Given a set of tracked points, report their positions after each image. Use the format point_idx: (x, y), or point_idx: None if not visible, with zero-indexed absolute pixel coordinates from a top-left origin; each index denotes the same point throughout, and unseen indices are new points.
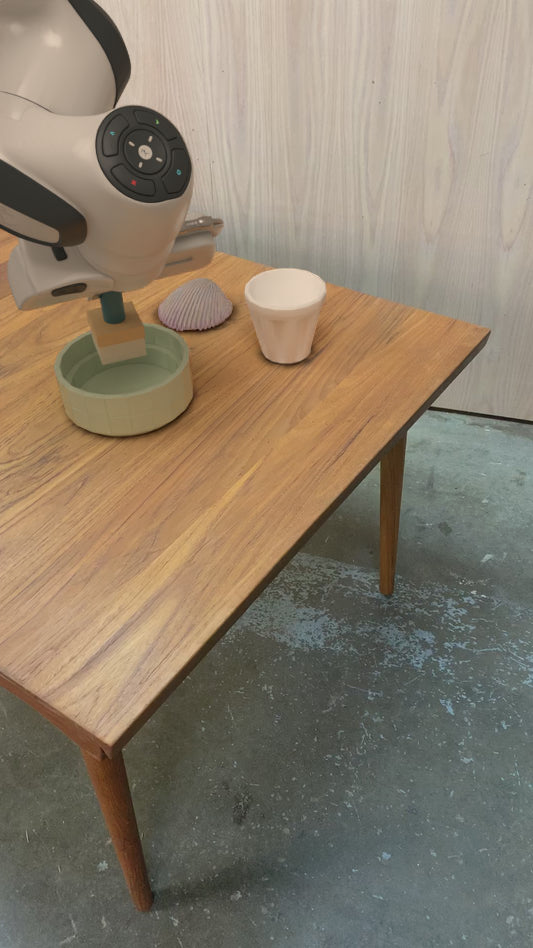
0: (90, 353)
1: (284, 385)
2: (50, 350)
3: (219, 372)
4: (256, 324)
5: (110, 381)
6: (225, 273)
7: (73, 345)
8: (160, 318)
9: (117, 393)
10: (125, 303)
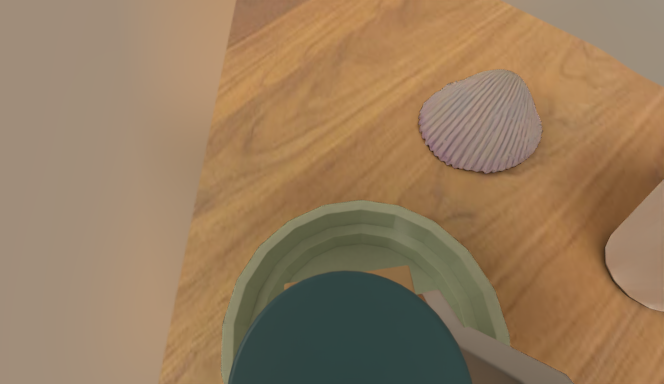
0: (305, 238)
1: (659, 377)
2: (258, 170)
3: (521, 296)
4: (651, 258)
5: None
6: (521, 44)
7: (272, 250)
8: (422, 133)
9: None
10: (391, 274)
